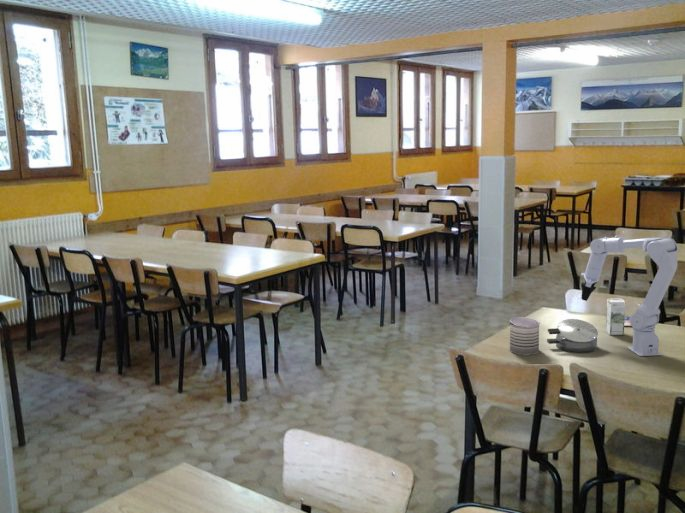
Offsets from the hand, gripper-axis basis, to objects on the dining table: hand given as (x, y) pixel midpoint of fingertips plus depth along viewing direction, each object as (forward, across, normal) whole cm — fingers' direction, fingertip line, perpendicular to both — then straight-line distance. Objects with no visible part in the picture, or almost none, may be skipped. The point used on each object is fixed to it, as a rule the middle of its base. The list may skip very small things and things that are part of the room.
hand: (585, 296), depth 266 cm
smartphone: (+17, -23, +18) cm, 34 cm away
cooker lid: (+8, +19, 0) cm, 20 cm away
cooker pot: (+14, +19, +1) cm, 24 cm away
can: (+17, +30, -15) cm, 37 cm away
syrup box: (+14, -4, +15) cm, 21 cm away
